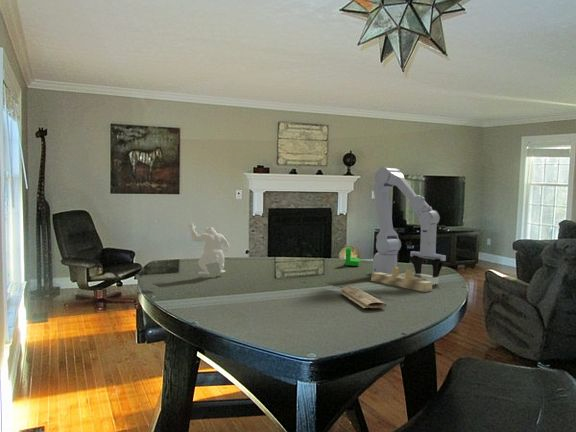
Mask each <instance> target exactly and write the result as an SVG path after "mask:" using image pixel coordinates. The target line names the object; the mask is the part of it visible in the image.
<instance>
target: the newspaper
mask: <svg viewBox="0 0 576 432" xmlns="http://www.w3.org/2000/svg"><path fill="white" fill-rule="evenodd" d="M337 292H338V293H340V294H341V295H343V296H344V297H346V298H348V299H349V300H350V301H352V302H353V303H355V304H357V305H359V307H361V308H362V309H365V308H366V309H368V308H370V309H382V308H385V307H387V303H386V302H383V301H382V300H380V299H378V298H376V297H374V296H373V295H371V294H370V293H368V292H366V291H364V290H363V289H360V288H358V287H356V286H352V285H350V286H347V285H346V286H343V287H341V288H340V290H338V291H337Z"/></svg>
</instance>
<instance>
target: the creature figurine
mask: <svg viewBox="0 0 576 432" xmlns="http://www.w3.org/2000/svg"><path fill="white" fill-rule="evenodd" d="M188 226H189V229H190V236H191V238H192V241H194V242H195V241H196V242H199V243H200V242H205V243H204V246H203V253H202V255H201V256H200V258H199V259H198V262H197V264H198V266H199V268H200V269H202V271H198V272H197V274H198V275H210V272H209V270H208V267H207V265H210V264H215V263H216V264H218V267H219V273H220V274H222V273H223V274H224V273H226V270H225V269H224V268H225V254H224V253H228V251H229V249H230V243H229V242H228V240H227V239H226V238H225V236H224V234H222V233H220V232H219V233H218V232H217V231H216V229H215V227H212V226H210V227H206V228H205V231H204V233H200V234H198V232H197V231H196V230H195V229H196V225H195V223H194V222H189V224H188ZM222 246H223V247H222Z"/></svg>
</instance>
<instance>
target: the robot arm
mask: <svg viewBox="0 0 576 432" xmlns="http://www.w3.org/2000/svg"><path fill="white" fill-rule="evenodd" d="M373 175H374V185H373V193H374V194H373V195H374V200H375V207H376V213H377V220H378V227H379V232H378V233H377V235H376V236H375V237H376V242H375V248H376V250H377V252H376V253H375V254H374V255H373V259H372V273H374V272H382V273H387V274H392V267H397V266H398V254H399V251H400V250H401V247H402V242H401V239H399V234H398V233H397V231H395V229H394V226H393V219H392V210H391V207H390V206H391V205H390V200H389V199H390V198H389V191H390V190H391V189H392V188H393V187H394V186H395V187H397V188H398V189H399V191H401V193H402V194H403V195H404V196H405V197H406V198H407V200H408V206H409V207H410V208H411V210H412V211H413V212H414V213H415V214H416V216H417V217H418V218H417V220H418V221H417V222H418V224H419V225H420V241H419V243H420V245H419V246H420V247H419V251H415V250H412V251H410V255H409V256H410V261H411V263H412V265H413V267H414V271H415V272H414V273H419V274H422V266H423V261H424V259H429V260H431V264H432V276H436V277H440V276H439V275H440V272H441V270H442V268H443V266H444V264H445V262H446V261H447V255H445V254H440V253H436V250H437V246H436V245H437V226H438V224H439V222H440V220H441V219H440V218H441V216H440V214H439V211H438V210H435V209H433V207H432V206H431V205H429V204H428V202H426V198H425V197H424V196H422V195H420V194H416V192H415V191H414V190H413V188H412V187H411V185H410V183H409V182H408V181H407V179H406V178H405V175H404V173H402V172H401V170H400V169H399V168H396V167H394V168H393V167H384V166H383V167H382V166H381V167H379V168H378V169H377V171H376V172H375V173H374V174H373Z"/></svg>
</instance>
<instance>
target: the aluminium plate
mask: <svg viewBox="0 0 576 432" xmlns="http://www.w3.org/2000/svg"><path fill="white" fill-rule="evenodd" d="M399 276H403V277H406V272H404V273H399ZM439 277H440V276H438V277H436V276H433V275H430V274H425V273H421V274H419V273H416V272H414V271H413V277H412V278H413V279H419V280H424V281H429V282H432V286H435V284H436V285H439V281H440V280H439Z"/></svg>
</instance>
